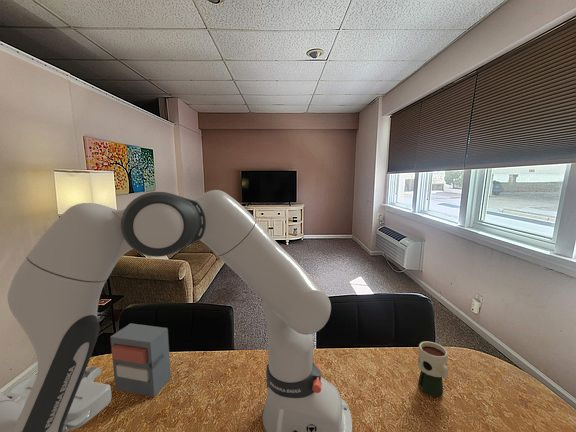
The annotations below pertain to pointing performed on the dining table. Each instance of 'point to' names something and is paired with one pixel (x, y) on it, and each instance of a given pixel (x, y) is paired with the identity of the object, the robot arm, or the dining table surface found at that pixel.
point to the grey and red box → (157, 358)
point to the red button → (130, 353)
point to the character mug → (432, 368)
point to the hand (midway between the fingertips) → (95, 369)
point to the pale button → (133, 372)
